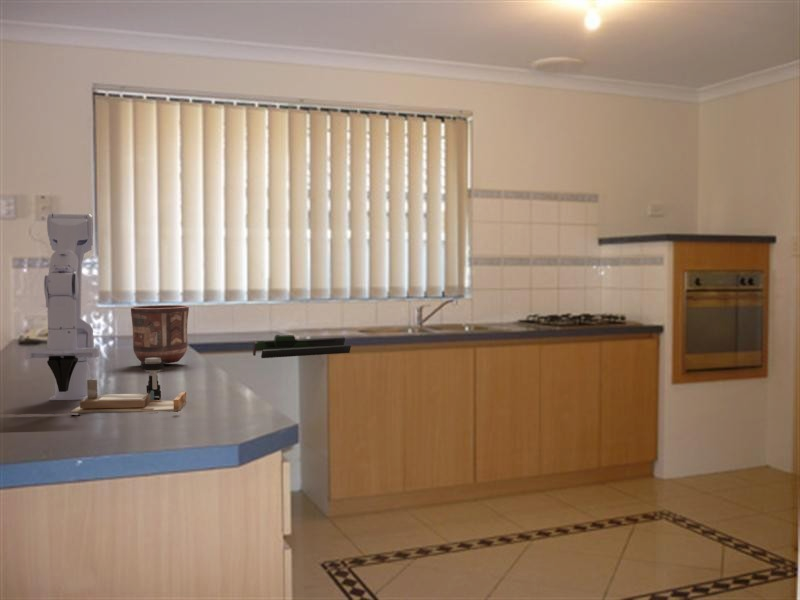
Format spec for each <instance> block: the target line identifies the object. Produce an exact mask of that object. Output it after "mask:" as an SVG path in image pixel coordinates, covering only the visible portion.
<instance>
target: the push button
mask: <svg viewBox="0 0 800 600" xmlns="http://www.w3.org/2000/svg"><path fill="white" fill-rule="evenodd" d="M140 365H141V369H142V370H143V371H144V372H145V373H148V374H149V375H148V381H147V384H148V385H145V386H146V394H151V400H162V399H161V398H162V391H161V384H159V380H158V378H159V377H158V372H161V371H162V370H164V369H165V362H162V361H161V358H157V357H155V358H145V361H144V362H140Z"/></svg>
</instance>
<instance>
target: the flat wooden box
mask: <svg viewBox="0 0 800 600" xmlns="http://www.w3.org/2000/svg"><path fill="white" fill-rule="evenodd" d="M186 403H187V391H181V392H180V393H179V394H178V395H176V397H175V398H174V399H173V400H163V399H159V400H151V401H150V402H149V403H148V404H147V405H146V406H144V407H131V408H82V409H80V405H79V406H77V407H75V408H74V409H72V410H71V411H70V414H71V413H79V414H81V413H83V414H84V413H118V412H119V413H123V412H124V413H125V412H127V413H128V412H170V411H180V410H181V408H183V406H184V405H186Z"/></svg>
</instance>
